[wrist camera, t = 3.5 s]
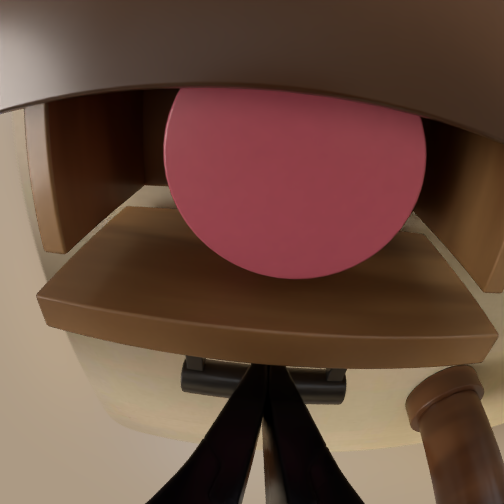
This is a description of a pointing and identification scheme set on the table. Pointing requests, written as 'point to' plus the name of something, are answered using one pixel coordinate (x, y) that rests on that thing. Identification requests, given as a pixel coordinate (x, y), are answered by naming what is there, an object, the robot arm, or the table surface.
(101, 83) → the cabinet
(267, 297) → the drawer
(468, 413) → the pepper mill
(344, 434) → the table surface
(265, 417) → the robot arm
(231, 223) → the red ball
